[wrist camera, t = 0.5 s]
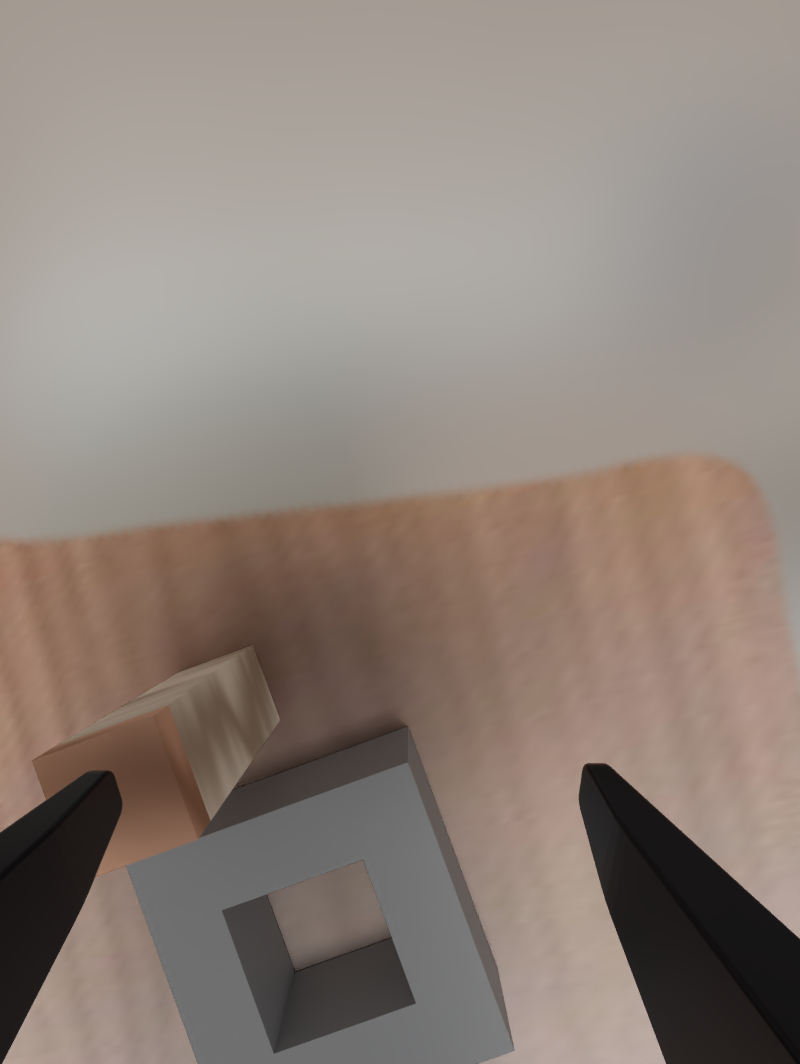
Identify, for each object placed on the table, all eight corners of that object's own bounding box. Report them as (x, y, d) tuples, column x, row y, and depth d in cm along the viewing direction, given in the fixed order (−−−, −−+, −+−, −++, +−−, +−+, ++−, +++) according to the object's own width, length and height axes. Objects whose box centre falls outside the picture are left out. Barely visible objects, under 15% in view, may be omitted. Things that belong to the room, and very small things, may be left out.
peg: (280, 719, 26) (198, 839, 16) (205, 747, 26) (76, 883, 16) (252, 644, 26) (152, 715, 16) (178, 672, 26) (31, 760, 16)
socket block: (497, 968, 25) (514, 1050, 21) (257, 1054, 26) (229, 1150, 22) (408, 726, 25) (407, 762, 21) (169, 813, 26) (125, 864, 22)
